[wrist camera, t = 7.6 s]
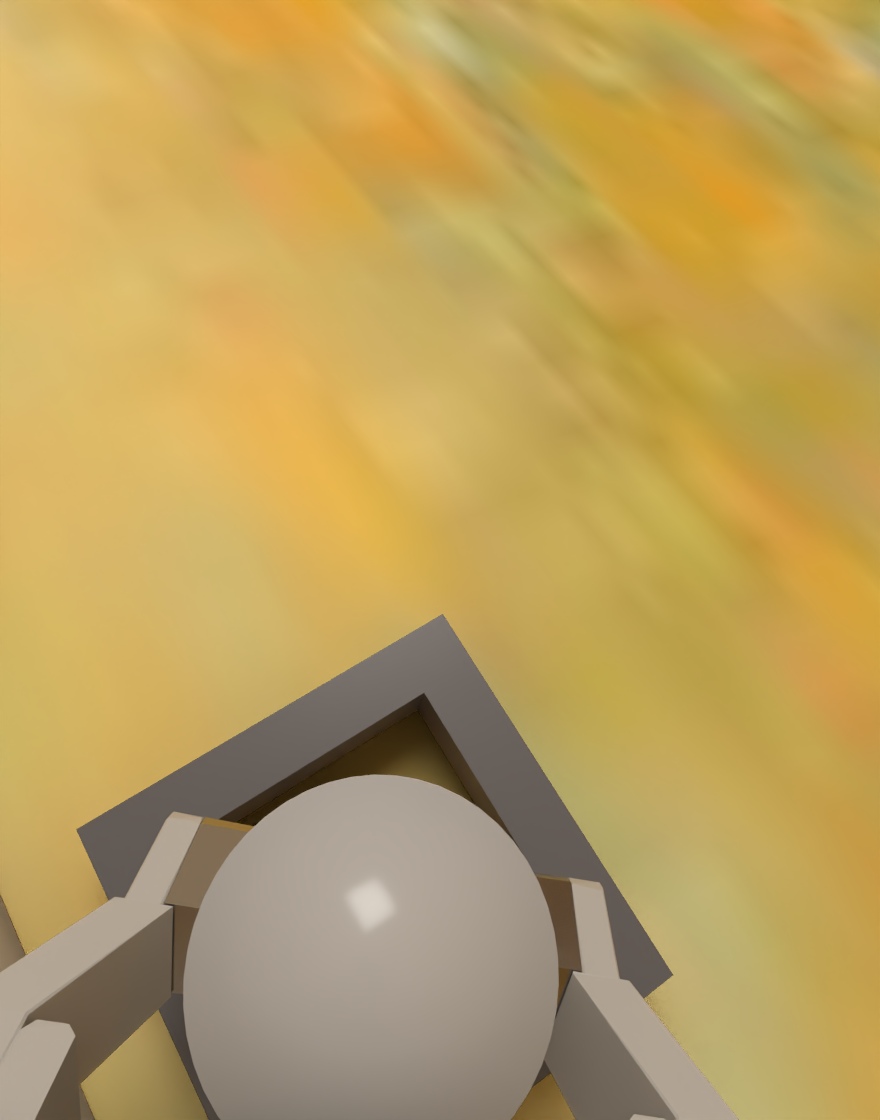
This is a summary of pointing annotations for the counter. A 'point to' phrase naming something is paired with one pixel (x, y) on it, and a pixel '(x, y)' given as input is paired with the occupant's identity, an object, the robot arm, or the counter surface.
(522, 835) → the gray square frame
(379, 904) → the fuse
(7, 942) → the parts tray
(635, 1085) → the robot arm
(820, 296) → the counter surface
